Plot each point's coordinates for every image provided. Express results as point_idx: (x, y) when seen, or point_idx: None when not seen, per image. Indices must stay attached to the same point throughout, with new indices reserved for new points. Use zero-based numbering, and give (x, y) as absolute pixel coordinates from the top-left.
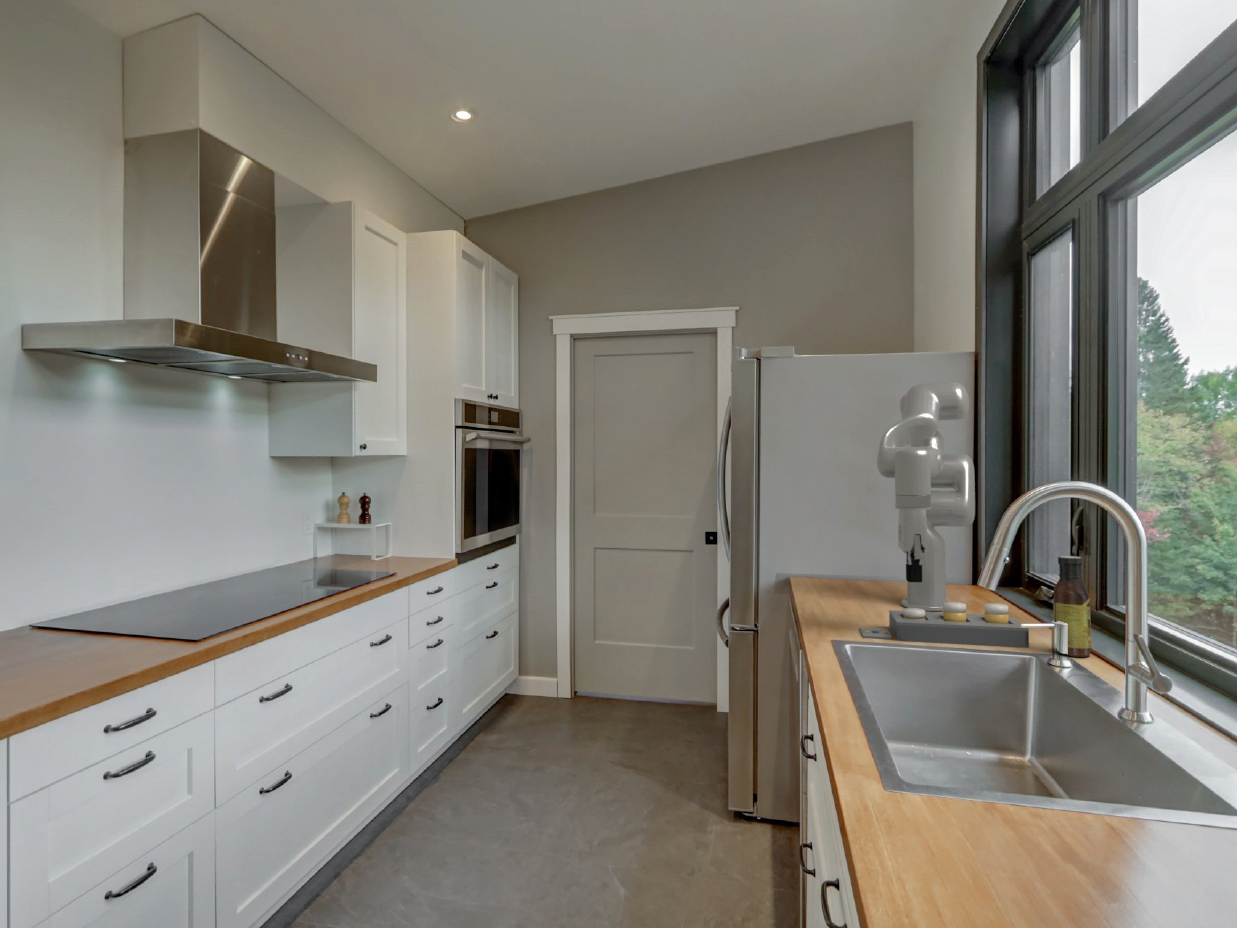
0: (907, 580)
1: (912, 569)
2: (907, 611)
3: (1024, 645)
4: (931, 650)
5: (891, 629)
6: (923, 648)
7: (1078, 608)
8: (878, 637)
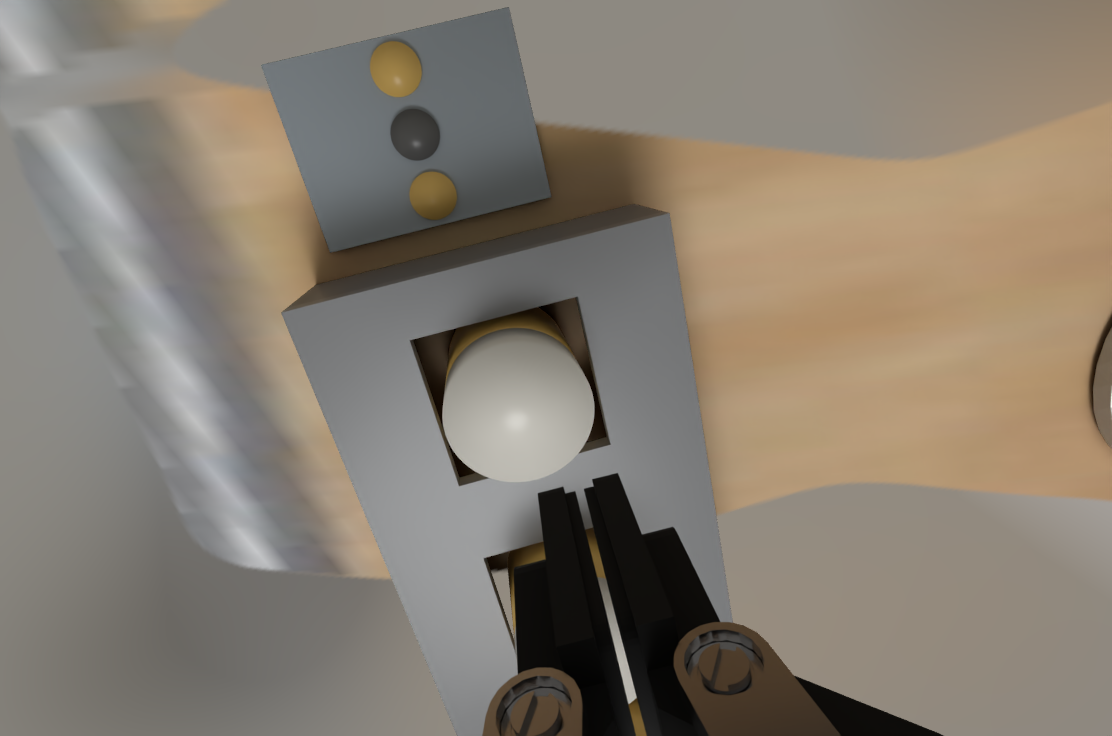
0: (538, 497)
1: (522, 661)
2: (452, 379)
3: None
4: (204, 467)
5: (549, 226)
6: (221, 429)
7: None
8: (300, 170)
